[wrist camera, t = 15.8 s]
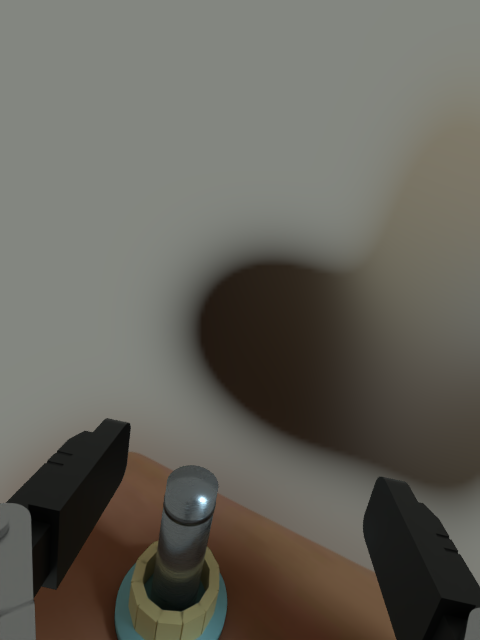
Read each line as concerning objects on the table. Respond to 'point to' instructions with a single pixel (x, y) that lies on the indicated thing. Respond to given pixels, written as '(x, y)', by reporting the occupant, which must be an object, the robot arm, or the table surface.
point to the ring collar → (162, 625)
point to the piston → (183, 537)
